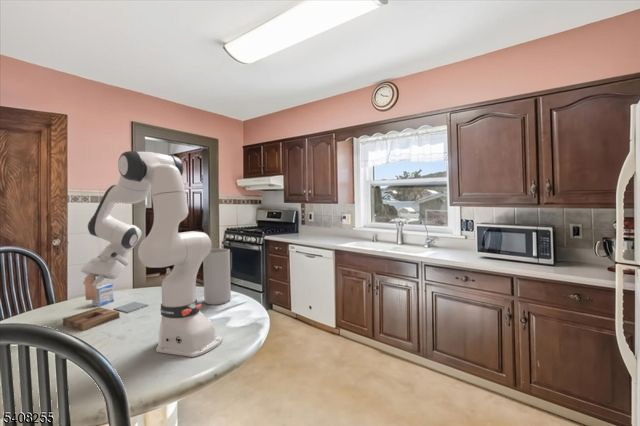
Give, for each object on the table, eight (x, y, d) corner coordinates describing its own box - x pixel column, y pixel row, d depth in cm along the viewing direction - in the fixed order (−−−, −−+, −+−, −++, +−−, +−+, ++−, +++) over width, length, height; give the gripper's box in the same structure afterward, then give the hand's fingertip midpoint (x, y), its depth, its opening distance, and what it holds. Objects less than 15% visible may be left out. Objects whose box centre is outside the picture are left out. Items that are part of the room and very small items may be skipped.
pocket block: (119, 317, 134) (119, 312, 134) (83, 330, 122) (83, 324, 121) (99, 312, 140) (99, 307, 140) (63, 324, 128) (62, 318, 127)
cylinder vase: (235, 300, 156) (234, 250, 154) (212, 307, 146) (211, 254, 145) (222, 295, 164) (221, 247, 163) (199, 301, 155) (198, 251, 153)
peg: (98, 298, 131) (97, 276, 131) (88, 300, 128) (87, 278, 127) (93, 296, 133) (92, 275, 132) (83, 299, 129) (82, 277, 129)
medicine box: (99, 306, 148) (99, 288, 147) (92, 306, 149) (91, 288, 148) (114, 301, 155) (113, 283, 155) (106, 300, 156) (105, 283, 156)
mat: (148, 305, 149) (148, 304, 149) (127, 313, 140) (127, 311, 140) (134, 302, 153) (134, 301, 153) (113, 309, 144) (113, 308, 144)
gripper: (91, 251, 140) (67, 278, 132) (121, 254, 131) (97, 284, 123) (102, 259, 144) (80, 286, 136) (131, 263, 135) (109, 291, 127)
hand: (88, 285), depth 129 cm, fingers closed on peg, 4 cm apart
